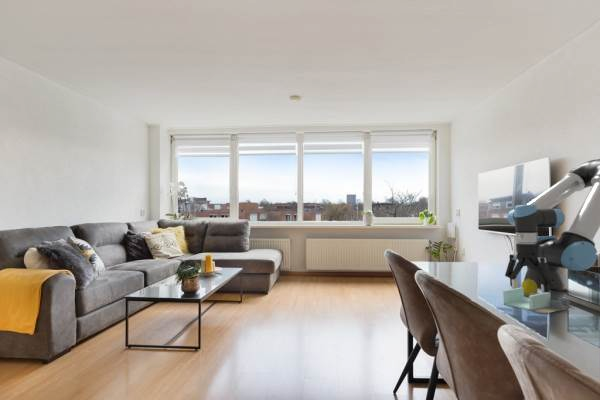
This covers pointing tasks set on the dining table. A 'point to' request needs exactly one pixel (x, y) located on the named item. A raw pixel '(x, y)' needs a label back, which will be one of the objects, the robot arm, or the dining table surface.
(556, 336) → the dining table surface
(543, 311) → the board
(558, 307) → the clip
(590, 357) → the dining table surface
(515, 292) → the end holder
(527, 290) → the lemon
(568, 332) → the dining table surface
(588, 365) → the dining table surface
